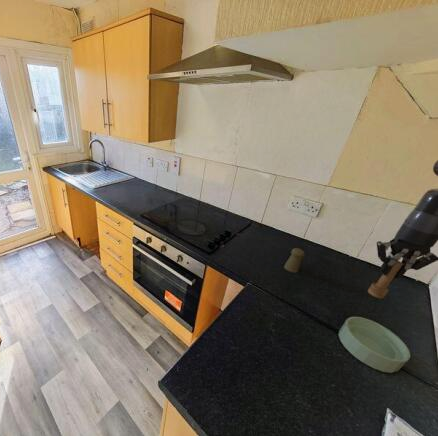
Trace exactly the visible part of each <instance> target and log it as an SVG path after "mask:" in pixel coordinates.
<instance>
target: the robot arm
mask: <svg viewBox="0 0 438 436" xmlns="http://www.w3.org/2000/svg"><path fill="white" fill-rule="evenodd" d="M432 172H433V173H434V175H435V176H437V177H438V159H437V160H436V161H435V163H434V164H433V165H432ZM436 243H438V188H430V189H428V190H426V191H425V192H424V193H423V195H422V196H421V198H420V199H419V200H418V202H417V204H416V205H415V207H414V208H413V209H412V210H411V211H410V212H409V214H408V215H407V216H406V218H405V219H404V221H403V223H402V224H401V226H400V227H399V229H398V230H397V232H396V233H395V236H394V237H393V238H392V239H390V240H389V241H386V242H383V241H381V240H380V241H379V240H378V241H376V250H377V257H378V259H379V260H380V261H381V262H382V264H381V266H380V267H379V272H380V273H381V276H382V275H387V273H388V272H389V271H390V269H391V268H392V265H393V264H394V263H395V262H396V261H400V260H401V261H400V262H402V263H403V266H402V267H401V268H400V270H399V271H398V272H397V274H396V275H395V277H394V278H393V279H400V278H403V276H404V275H405V274H406V273H407V271H409V270H414V271H419V270H421V269H423V268H425V267H427V266H429V265H431V264H434V263H435V262H438V256H437V255H436V254H434V253H433V252H431V248H433V247H434V246H435V245H436ZM389 248H390V251H389V252H388V254H387V251H388V250H389Z"/></svg>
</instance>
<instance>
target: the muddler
mask: <svg viewBox="0 0 438 436" xmlns="http://www.w3.org/2000/svg"><path fill="white" fill-rule="evenodd" d="M402 266H403V263H402V262H401V261H400V260H399V261H396V262H395V263H394V264H393V265H392V268H391V269H390V271H389V272H388V273H387V275H382V274H381V276H380V277H379V279H378V280H377V282H372V283H371V284H370V287H369V288H368V289H367V293H368V294H369V295H370V296H373V297H375V298H377V299H384V298H385V296H386V295H387V294H388V293H389V289H388V286H389V285H390V283H391V282H392V281H393V279H395V278H394V277H395V275H396V274H397V272H398V271H399V270H400V268H401V267H402Z"/></svg>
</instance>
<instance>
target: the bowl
mask: <svg viewBox="0 0 438 436" xmlns="http://www.w3.org/2000/svg"><path fill="white" fill-rule="evenodd" d="M338 339H339V340H340V342H341V344H342V345H343V347H344V348H345V350H347V351H348V352H349V353H350V354H351V355H352V356H353V357H354V358H356V360H359V361H360V362H361V363H363V364H365V365H366V366H368V367H370V368H372V369H375V370H377V371H379V372H380V371H381V372H383V373H389V374H392V373H396V372H398V371H400V369H401V368H402V367H403V366H404V365H405V364H406V363H407V362H409V360H410V358H411V352H410V349H409V348H408V346H407V344H406V343H405V342H404V341H403V340H402V339H401V338H400V337H399V336H398V335H396V334H395V333H394V332H393V331H391V330H390V329H388V328H387V327H385V326H384V325H382V324H380V323H378V322H375V321H374V320H371V319H370V318H369V319H368V318H365V317H361V316H349V317H348V318H346V320H345V321H344V323H343V324H342V326H341V327H340V328H339V330H338Z"/></svg>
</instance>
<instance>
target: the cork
mask: <svg viewBox="0 0 438 436" xmlns="http://www.w3.org/2000/svg"><path fill="white" fill-rule="evenodd" d="M305 255H306V253H305V251H304V250H303V249H301V248H299V247H295V248H294V247H293V248H292V249H291V255H290V256H289V258H288V259H287V261H286V262H285V264H284V265H283V268H284V269H285V270H286V271H288V272H289V273H292V274H293V273H294V274H295V273H298V272H299V269H300V265H301V262H302V258H304V257H305Z"/></svg>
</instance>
